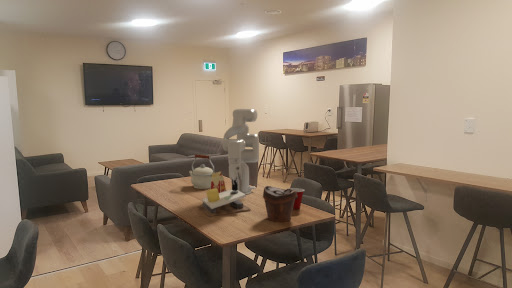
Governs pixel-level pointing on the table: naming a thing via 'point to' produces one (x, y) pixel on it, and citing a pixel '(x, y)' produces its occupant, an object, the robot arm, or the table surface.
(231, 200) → the instrument plate
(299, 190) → the plastic cup
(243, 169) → the robot arm
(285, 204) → the brown flower pot
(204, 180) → the kettle
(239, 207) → the leveling stand
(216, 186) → the milk carton
